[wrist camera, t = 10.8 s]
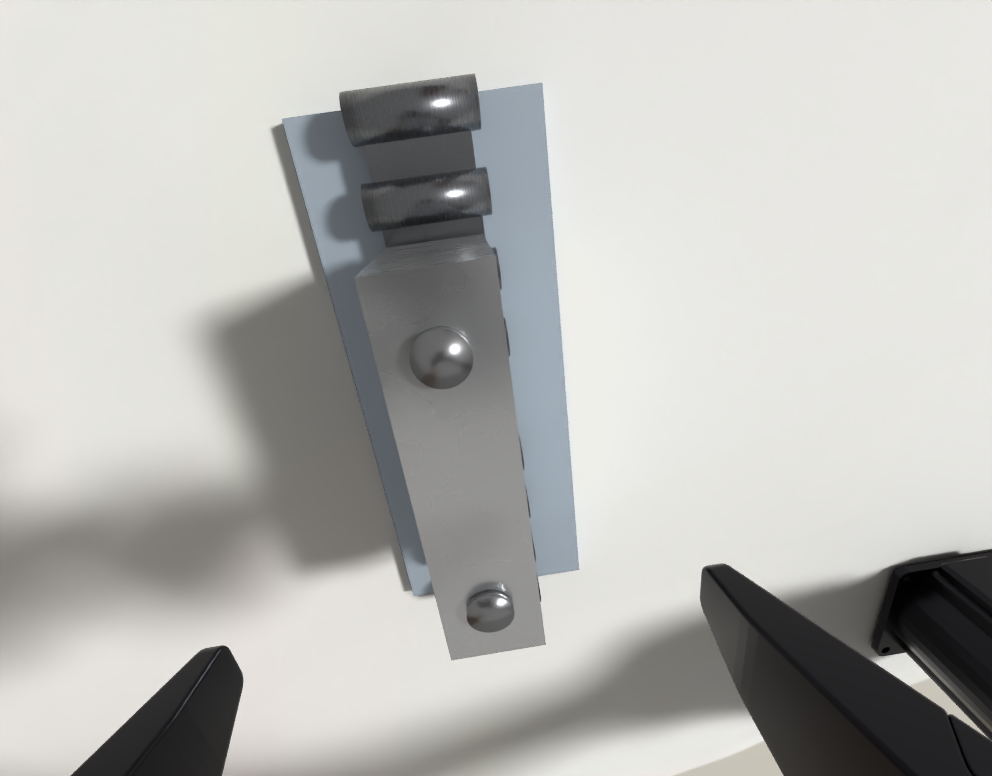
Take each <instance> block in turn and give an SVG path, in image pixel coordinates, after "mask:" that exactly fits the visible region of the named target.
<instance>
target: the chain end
mask: <svg viewBox="0 0 992 776" xmlns="http://www.w3.org/2000/svg"><path fill="white" fill-rule="evenodd" d="M339 99H340V107H341V113H342V117H343V121H344V125H345V129H346V132H347V135H348V138H349V140H350V142H351V144H352V146H353V147H361V146H364V151H365V155H366V160H367V164H368V169H369V173H370V178H371V183H366V184H362V185H361V197H362V203H363V208H364V213H365V216H366V220H367V223H368V225H369V228H370V230H371V231H372V232H376V231H382V233H383V237H384V242H385V246H386V248H389V247H396V246H403V245H409V244H416V243H423V242H430V241H437V240H443V239H450V238H457V237H464V236H471V235H477V234H483V235H484V237H485V231H484V223H483V216H487V215H492V202H491V193H490V185H489V178H488V173H487V168H486V167H479V168H476V163H475V156H474V148H473V141H472V133H471V131H475V130H481V115H480V105H479V96H478V89H477V83H476V77H475V74H468V75H461V76H454V77H446V78H439V79H432V80H425V81H417V82H410V83H403V84H395V85H388V86H381V87H374V88H366V89H359V90H352V91H344V92H340V94H339ZM485 239H486V238H485ZM491 249H492V251H493V253H494V254H495V256H496V263H497V271H498V278H499V286H500V290H502V283H501V273H500V266H499V259H498V254H497V249H496V247H492V248H491ZM504 325H505V333H506V340H507V348H508V356H509V357H510V346H509V338H508V331H507V326H506V321H505V318H504Z"/></svg>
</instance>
